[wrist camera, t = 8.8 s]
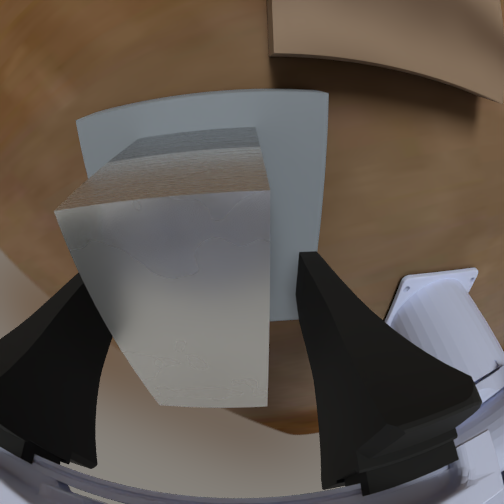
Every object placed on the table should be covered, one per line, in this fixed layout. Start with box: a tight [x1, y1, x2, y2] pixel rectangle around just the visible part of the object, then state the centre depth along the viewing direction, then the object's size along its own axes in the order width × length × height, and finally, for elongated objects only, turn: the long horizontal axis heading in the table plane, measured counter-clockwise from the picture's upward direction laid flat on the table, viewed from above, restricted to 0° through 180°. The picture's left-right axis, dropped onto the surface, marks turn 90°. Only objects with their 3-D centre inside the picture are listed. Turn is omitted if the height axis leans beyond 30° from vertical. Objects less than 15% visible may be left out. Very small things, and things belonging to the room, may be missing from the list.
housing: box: [54, 127, 270, 408], centre depth 10 cm, size 4×9×6 cm, turn 2°
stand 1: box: [76, 89, 329, 321], centre depth 13 cm, size 12×10×2 cm
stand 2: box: [267, 0, 504, 104], centre depth 7 cm, size 7×12×2 cm, turn 92°
